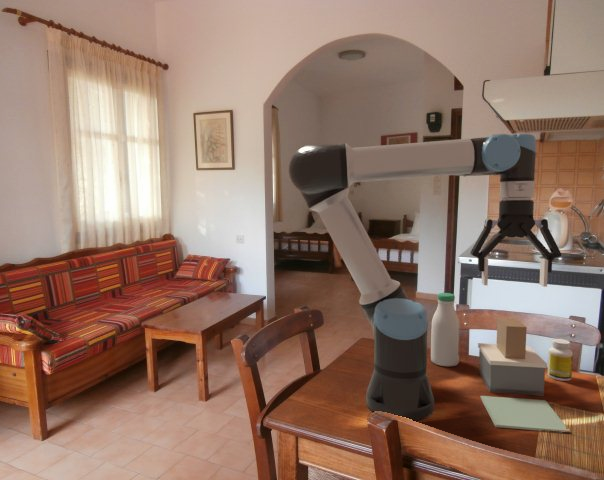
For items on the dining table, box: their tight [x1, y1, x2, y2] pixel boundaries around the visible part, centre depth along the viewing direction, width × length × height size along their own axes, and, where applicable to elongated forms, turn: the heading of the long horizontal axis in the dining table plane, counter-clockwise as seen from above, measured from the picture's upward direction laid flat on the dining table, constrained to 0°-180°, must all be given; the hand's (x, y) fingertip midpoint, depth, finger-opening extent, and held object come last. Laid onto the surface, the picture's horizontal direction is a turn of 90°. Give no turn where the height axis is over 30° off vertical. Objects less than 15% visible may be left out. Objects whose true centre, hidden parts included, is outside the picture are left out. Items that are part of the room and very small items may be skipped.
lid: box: [477, 316, 548, 369], centre depth 106 cm, size 13×13×10 cm
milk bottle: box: [430, 292, 461, 368], centre depth 120 cm, size 8×8×20 cm
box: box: [478, 348, 546, 397], centre depth 106 cm, size 12×12×7 cm
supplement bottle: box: [547, 338, 574, 382], centre depth 110 cm, size 5×5×10 cm
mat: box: [480, 395, 571, 432], centre depth 91 cm, size 14×13×1 cm
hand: (513, 285), depth 104 cm, fingers open, 13 cm apart
